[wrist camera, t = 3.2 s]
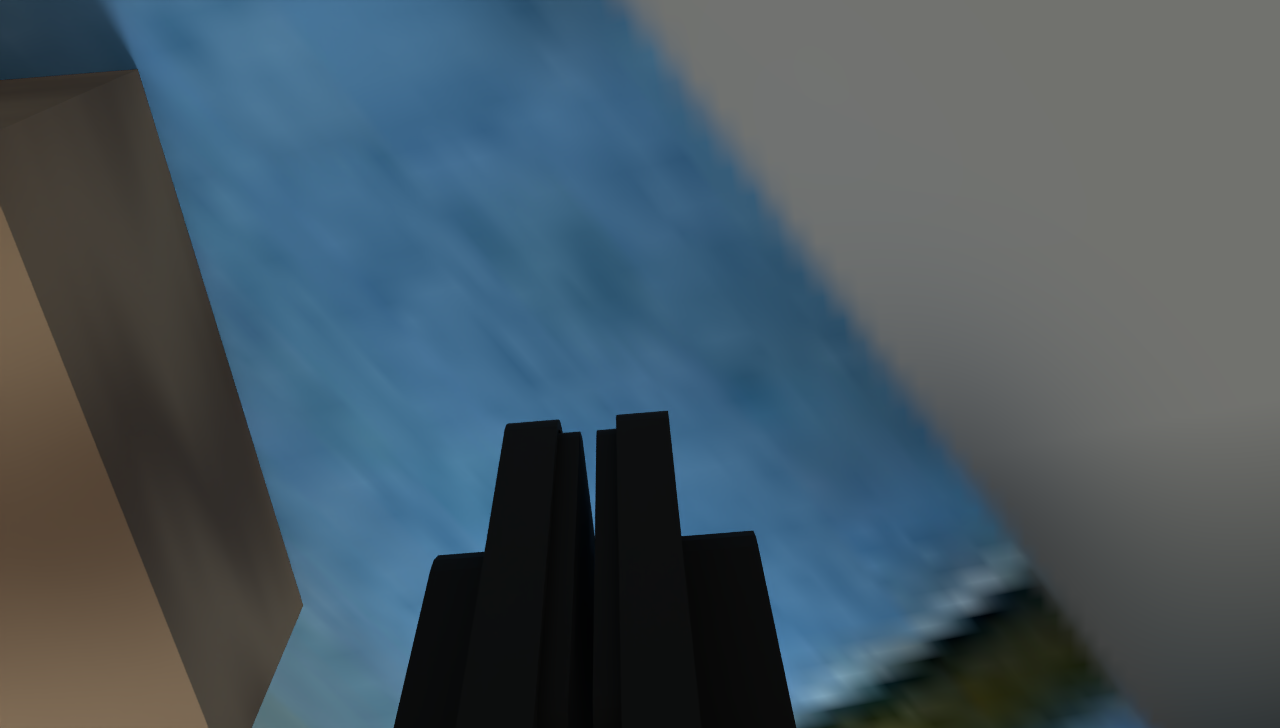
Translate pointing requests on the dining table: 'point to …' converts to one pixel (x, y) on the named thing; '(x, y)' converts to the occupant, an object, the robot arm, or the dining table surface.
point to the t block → (121, 438)
